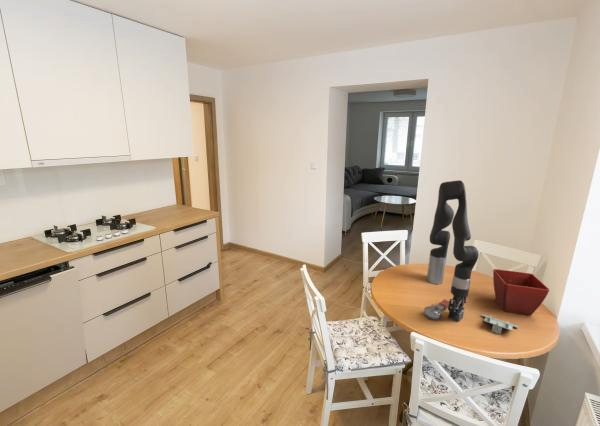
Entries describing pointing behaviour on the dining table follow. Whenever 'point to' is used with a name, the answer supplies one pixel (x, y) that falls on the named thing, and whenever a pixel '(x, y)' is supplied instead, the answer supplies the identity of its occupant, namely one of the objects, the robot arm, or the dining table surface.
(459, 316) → the grey block
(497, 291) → the plant pot
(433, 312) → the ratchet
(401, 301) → the dining table surface
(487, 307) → the dining table surface
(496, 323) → the metal bracket
